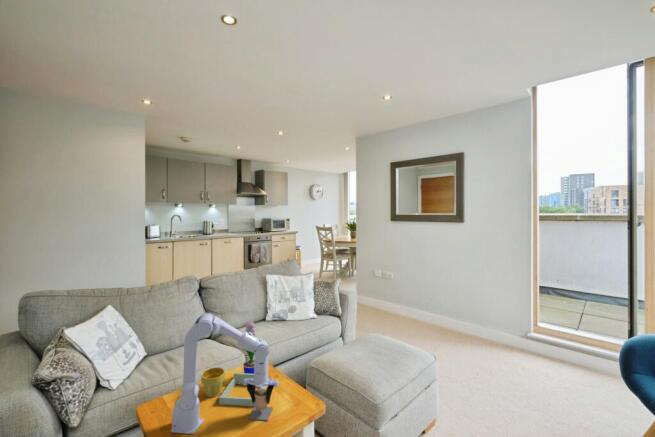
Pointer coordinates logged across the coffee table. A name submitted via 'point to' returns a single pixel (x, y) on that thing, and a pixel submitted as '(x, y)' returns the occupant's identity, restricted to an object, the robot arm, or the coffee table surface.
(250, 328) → the hyacinth
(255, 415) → the slate pad
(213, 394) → the plant pot
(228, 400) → the frame
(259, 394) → the terracotta pot
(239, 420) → the coffee table surface
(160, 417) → the coffee table surface
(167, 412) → the coffee table surface
